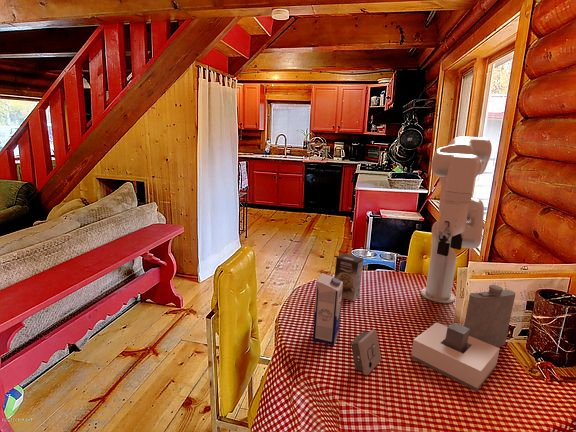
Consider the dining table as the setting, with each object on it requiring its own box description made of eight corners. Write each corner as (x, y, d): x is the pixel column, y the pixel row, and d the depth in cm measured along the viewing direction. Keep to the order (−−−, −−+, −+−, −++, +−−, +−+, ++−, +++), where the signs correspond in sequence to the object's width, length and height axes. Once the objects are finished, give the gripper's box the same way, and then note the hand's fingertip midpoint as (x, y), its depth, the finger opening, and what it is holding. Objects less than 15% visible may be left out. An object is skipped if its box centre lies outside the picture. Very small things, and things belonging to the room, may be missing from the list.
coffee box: (332, 295, 140) (335, 257, 137) (339, 289, 146) (342, 252, 142) (354, 301, 136) (357, 262, 132) (360, 295, 141) (363, 257, 137)
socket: (433, 339, 113) (436, 322, 111) (495, 367, 100) (499, 348, 99) (410, 358, 103) (413, 339, 101) (476, 391, 90) (480, 371, 89)
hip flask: (499, 339, 115) (510, 281, 110) (509, 346, 111) (522, 287, 106) (458, 345, 110) (468, 285, 106) (467, 352, 106) (479, 291, 102)
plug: (448, 352, 104) (454, 322, 102) (464, 360, 101) (469, 328, 99) (442, 358, 101) (447, 327, 99) (457, 366, 98) (463, 334, 96)
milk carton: (318, 329, 116) (322, 272, 111) (338, 333, 113) (343, 275, 109) (312, 340, 109) (316, 280, 104) (333, 345, 107) (338, 284, 102)
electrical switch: (366, 377, 94) (366, 345, 92) (349, 370, 97) (349, 339, 95) (381, 361, 101) (381, 330, 99) (364, 355, 104) (365, 325, 102)
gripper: (456, 193, 114) (448, 243, 118) (432, 198, 103) (424, 254, 106) (481, 196, 109) (472, 249, 113) (459, 202, 97) (449, 261, 101)
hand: (449, 251), depth 110 cm, fingers open, 9 cm apart
